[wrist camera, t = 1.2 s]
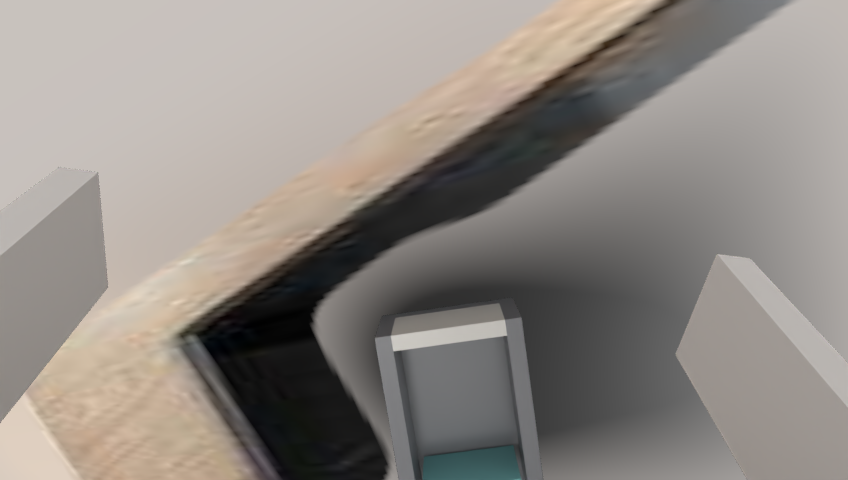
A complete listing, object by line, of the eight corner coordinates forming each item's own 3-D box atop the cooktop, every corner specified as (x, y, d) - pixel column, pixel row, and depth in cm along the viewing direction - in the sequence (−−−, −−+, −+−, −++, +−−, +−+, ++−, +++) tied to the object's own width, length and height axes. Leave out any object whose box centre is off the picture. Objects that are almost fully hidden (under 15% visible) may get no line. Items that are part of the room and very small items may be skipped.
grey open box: (543, 525, 46) (555, 571, 42) (419, 540, 47) (417, 587, 42) (512, 297, 44) (521, 317, 39) (382, 315, 44) (374, 338, 39)
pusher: (515, 461, 45) (523, 496, 40) (426, 472, 45) (424, 508, 40) (513, 445, 44) (521, 478, 40) (423, 456, 45) (422, 491, 40)
